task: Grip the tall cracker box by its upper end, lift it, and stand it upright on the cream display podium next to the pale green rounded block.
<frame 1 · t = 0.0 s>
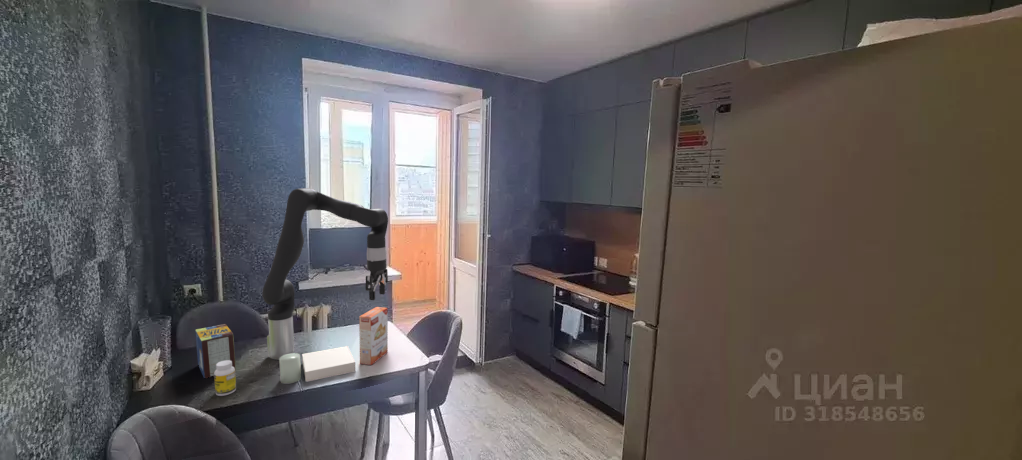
hand: (377, 297, 167), 29 cm above the table, tool pointing down, fingers open, 8 cm apart
display podium: (328, 367, 168), on the table
pill bottle: (226, 392, 147), on the table
protein box: (216, 368, 165), on the table
pale green rounded block: (290, 379, 157), on the table
cracker box: (374, 358, 177), on the table
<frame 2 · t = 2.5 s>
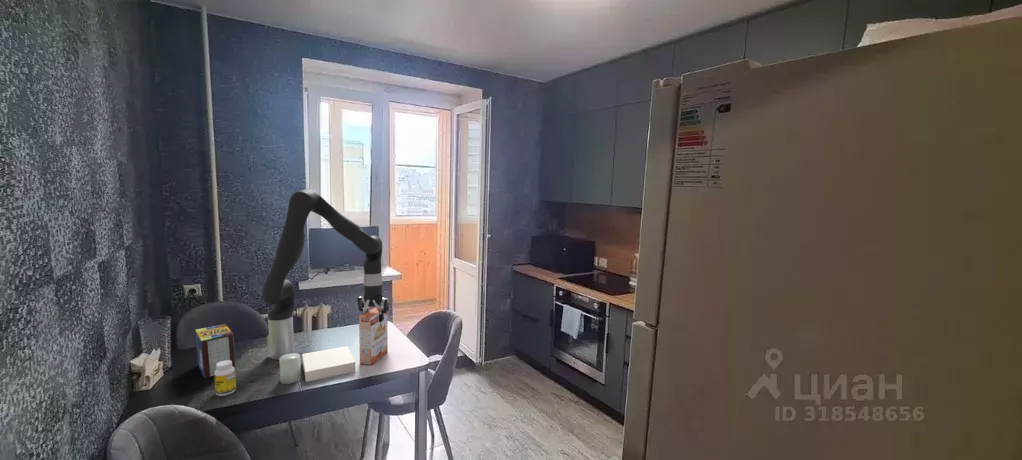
hand: (373, 321, 175), 17 cm above the table, tool pointing down, fingers closed on cracker box, 6 cm apart
cracker box: (374, 358, 177), on the table, touching gripper
everything else where it was.
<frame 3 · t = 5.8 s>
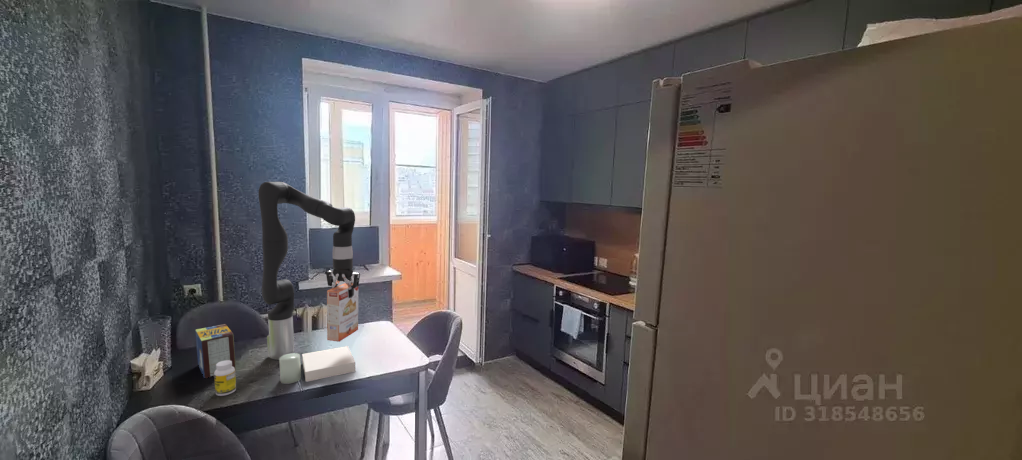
hand: (343, 296, 168), 29 cm above the table, tool pointing down, fingers closed on cracker box, 6 cm apart
cracker box: (343, 335, 170), point 12 cm above the table, touching gripper
everything else where it was.
when the fingers open (21 cm above the table, at t = 9.0 s): cracker box stays where it is, resting on display podium.
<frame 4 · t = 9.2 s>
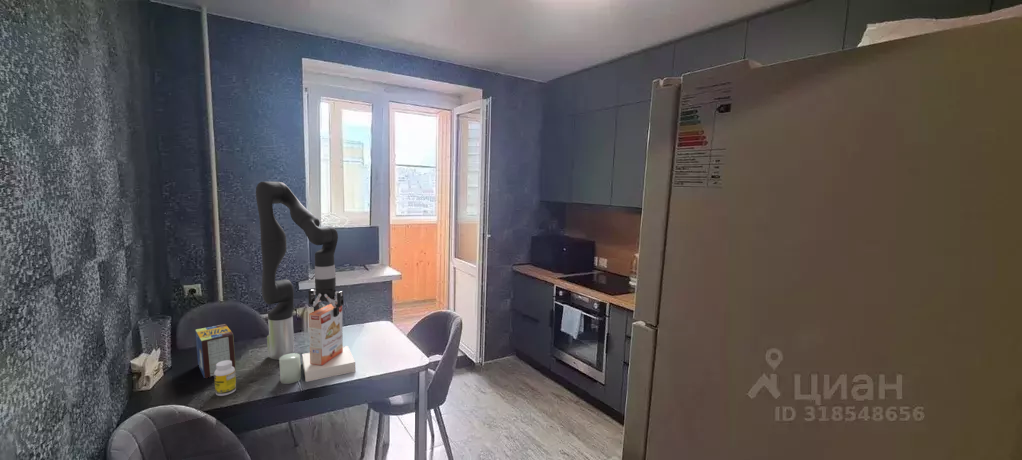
hand: (326, 315, 165), 22 cm above the table, tool pointing down, fingers open, 8 cm apart
cracker box: (327, 358, 167), point 4 cm above the table, touching display podium
everything else where it was.
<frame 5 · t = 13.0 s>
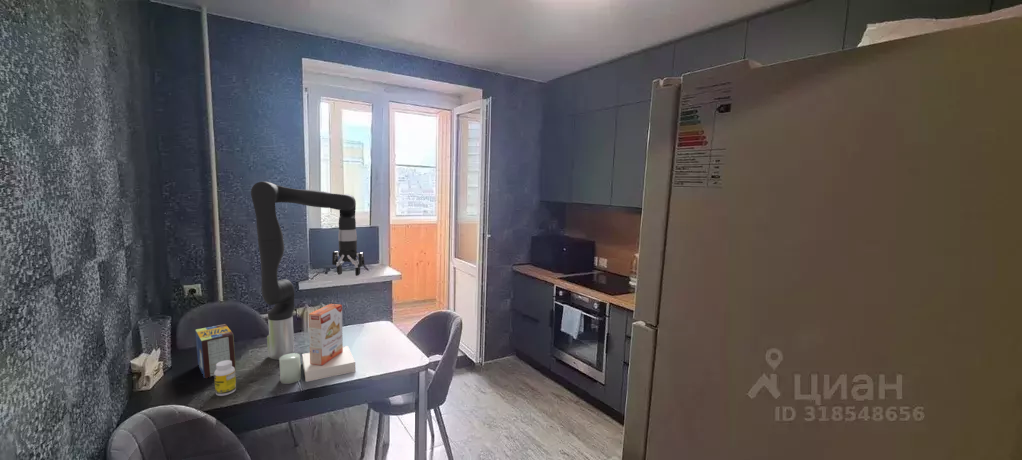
hand: (348, 274, 183), 34 cm above the table, tool pointing down, fingers open, 8 cm apart
nothing on the table moved.
at the end: cracker box inside the target area on the display podium (0.3 cm from its centre), point 3.8 cm above the display podium's base; cracker box tilted 0° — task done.
